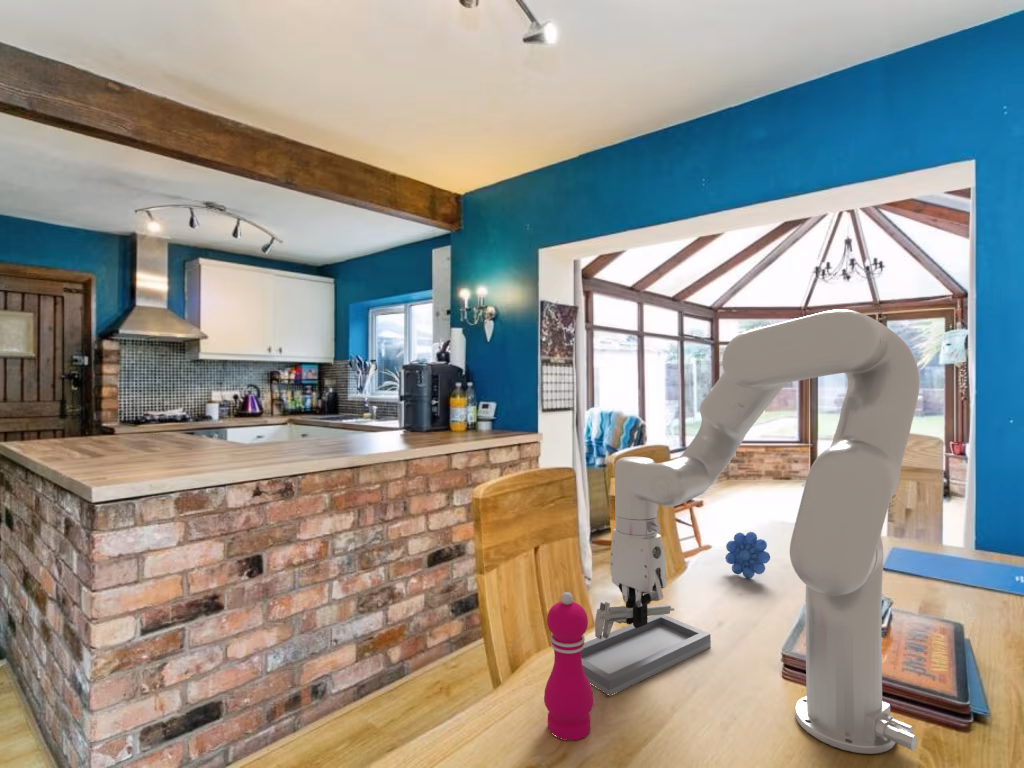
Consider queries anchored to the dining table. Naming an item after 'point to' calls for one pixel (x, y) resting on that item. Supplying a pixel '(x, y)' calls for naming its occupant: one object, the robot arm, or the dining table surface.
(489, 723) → the dining table surface
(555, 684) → the pepper mill
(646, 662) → the tool case
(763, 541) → the blue bumpy cluster
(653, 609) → the caliper
